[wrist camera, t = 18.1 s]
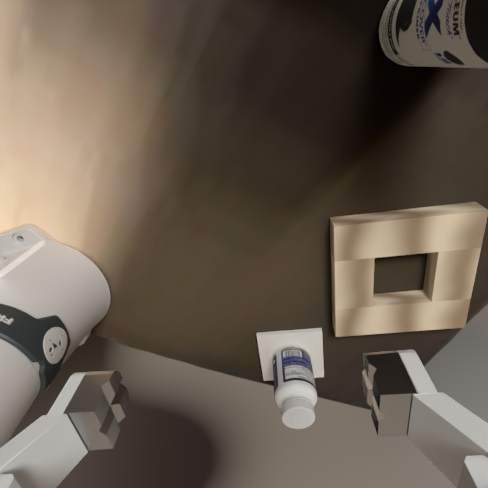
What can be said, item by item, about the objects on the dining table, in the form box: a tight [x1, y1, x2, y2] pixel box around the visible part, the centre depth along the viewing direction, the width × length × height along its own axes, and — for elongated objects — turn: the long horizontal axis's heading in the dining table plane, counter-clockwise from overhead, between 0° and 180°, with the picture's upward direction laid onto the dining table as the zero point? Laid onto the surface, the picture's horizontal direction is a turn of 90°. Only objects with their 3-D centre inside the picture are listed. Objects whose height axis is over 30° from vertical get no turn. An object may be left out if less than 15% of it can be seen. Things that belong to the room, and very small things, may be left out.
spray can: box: [379, 0, 488, 68], centre depth 22 cm, size 7×7×20 cm
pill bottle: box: [273, 344, 317, 429], centre depth 46 cm, size 5×5×10 cm
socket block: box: [330, 202, 488, 337], centre depth 42 cm, size 16×16×2 cm
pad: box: [257, 328, 324, 381], centre depth 50 cm, size 9×9×1 cm
